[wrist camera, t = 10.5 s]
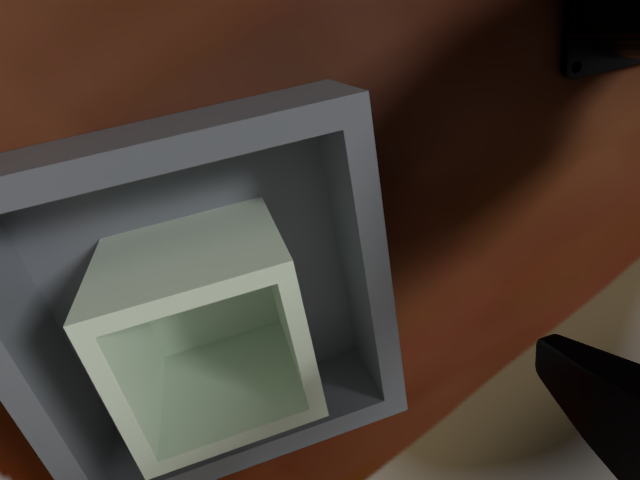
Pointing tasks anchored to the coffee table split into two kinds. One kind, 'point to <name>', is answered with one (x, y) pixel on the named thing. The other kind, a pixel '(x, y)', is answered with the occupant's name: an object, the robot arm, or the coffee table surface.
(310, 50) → the coffee table surface
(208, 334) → the sage crate
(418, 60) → the coffee table surface
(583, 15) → the robot arm
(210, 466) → the grey crate
